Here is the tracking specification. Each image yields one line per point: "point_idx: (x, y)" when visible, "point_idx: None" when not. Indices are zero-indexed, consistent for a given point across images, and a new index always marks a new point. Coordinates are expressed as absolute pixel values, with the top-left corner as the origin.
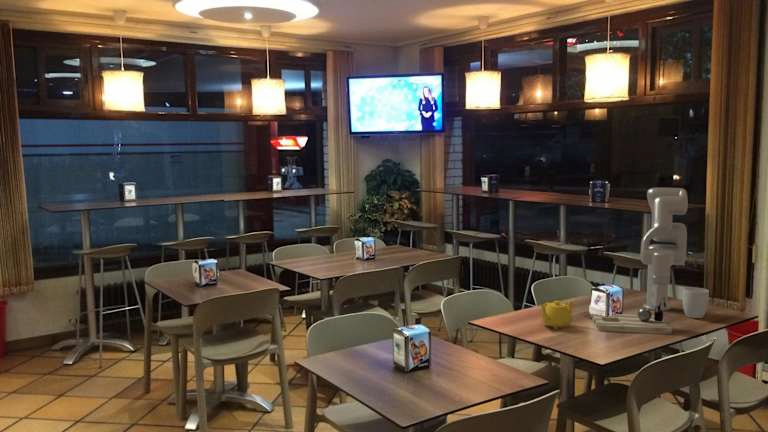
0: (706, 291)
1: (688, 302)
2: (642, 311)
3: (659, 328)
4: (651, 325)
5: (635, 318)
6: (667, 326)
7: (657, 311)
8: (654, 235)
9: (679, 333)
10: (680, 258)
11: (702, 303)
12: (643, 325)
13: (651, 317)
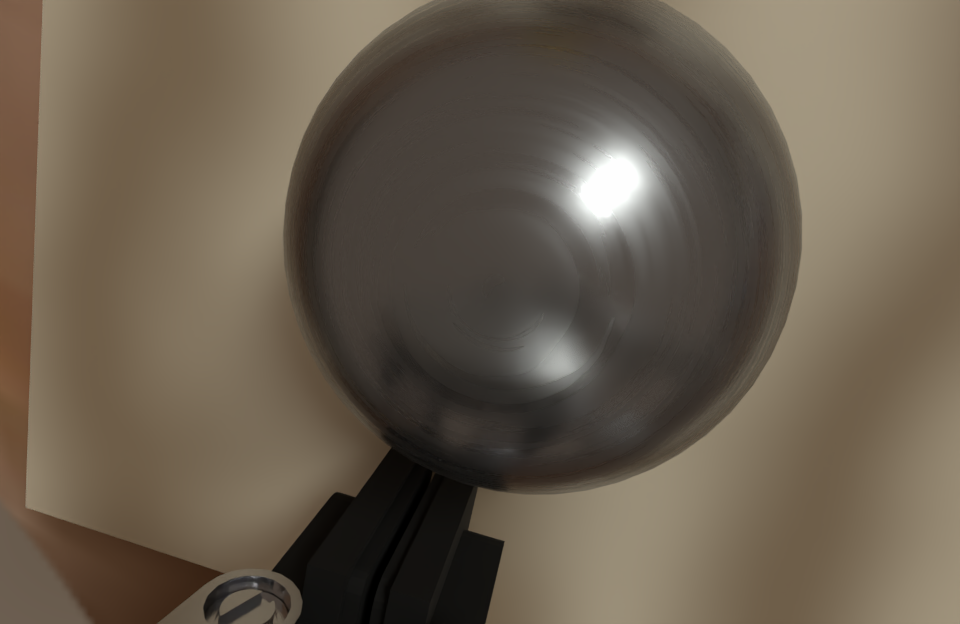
0: None
1: None
2: (345, 79)
3: (47, 297)
4: (176, 213)
5: (823, 97)
6: (126, 496)
7: (193, 609)
8: None
9: (145, 585)
10: None
11: None
12: (168, 17)
13: (836, 566)
